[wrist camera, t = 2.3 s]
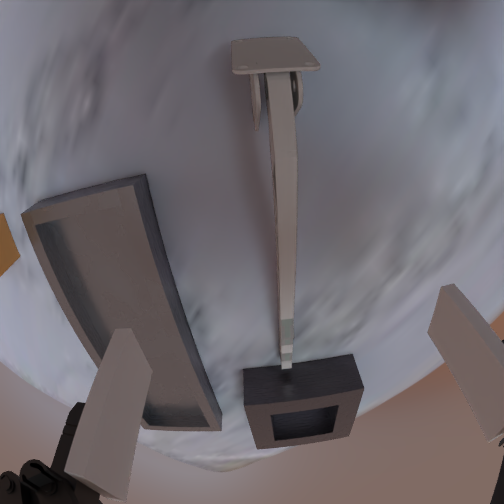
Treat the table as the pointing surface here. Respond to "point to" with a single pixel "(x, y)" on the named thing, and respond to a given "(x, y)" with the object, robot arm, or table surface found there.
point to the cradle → (124, 292)
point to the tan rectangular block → (6, 246)
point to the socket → (302, 401)
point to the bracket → (279, 150)
